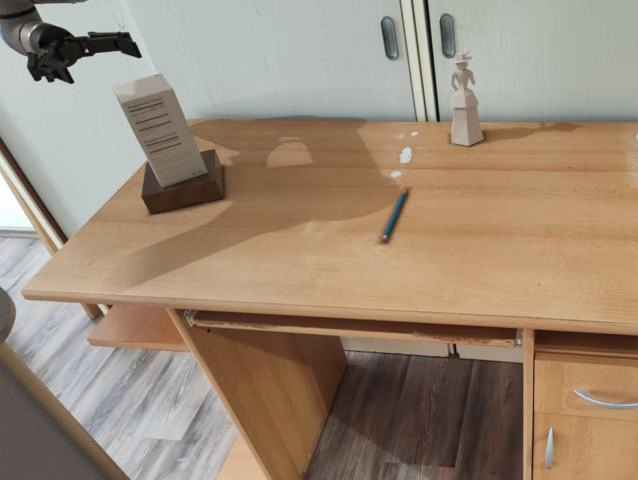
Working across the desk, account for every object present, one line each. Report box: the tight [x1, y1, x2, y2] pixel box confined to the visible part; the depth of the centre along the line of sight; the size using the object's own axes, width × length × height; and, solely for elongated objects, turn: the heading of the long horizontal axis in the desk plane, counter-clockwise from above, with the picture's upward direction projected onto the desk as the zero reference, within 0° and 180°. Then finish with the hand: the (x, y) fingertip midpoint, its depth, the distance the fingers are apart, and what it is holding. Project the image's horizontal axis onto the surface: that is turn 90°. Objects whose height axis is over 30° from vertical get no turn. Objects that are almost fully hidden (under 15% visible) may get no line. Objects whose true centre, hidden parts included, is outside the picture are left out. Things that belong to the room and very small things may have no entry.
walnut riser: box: [140, 148, 224, 215], centre depth 118 cm, size 14×14×4 cm
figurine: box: [449, 48, 484, 147], centre depth 120 cm, size 7×8×18 cm
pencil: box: [380, 189, 407, 244], centre depth 107 cm, size 1×17×1 cm, turn 170°
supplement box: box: [111, 73, 208, 188], centre depth 111 cm, size 10×9×17 cm
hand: (104, 62), depth 108 cm, fingers open, 13 cm apart
